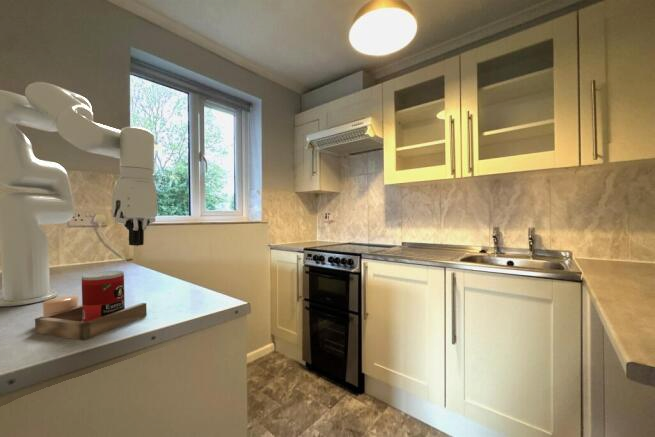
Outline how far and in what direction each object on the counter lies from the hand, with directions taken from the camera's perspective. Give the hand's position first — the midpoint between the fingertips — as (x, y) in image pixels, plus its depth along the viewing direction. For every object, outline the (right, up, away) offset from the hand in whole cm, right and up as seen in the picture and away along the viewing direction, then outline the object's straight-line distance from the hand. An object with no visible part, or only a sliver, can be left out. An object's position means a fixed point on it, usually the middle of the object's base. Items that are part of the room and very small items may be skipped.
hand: (136, 244), depth 76 cm
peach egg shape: (-12, -17, -9) cm, 23 cm away
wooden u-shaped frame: (-2, -17, -11) cm, 20 cm away
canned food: (-1, -17, -9) cm, 19 cm away
